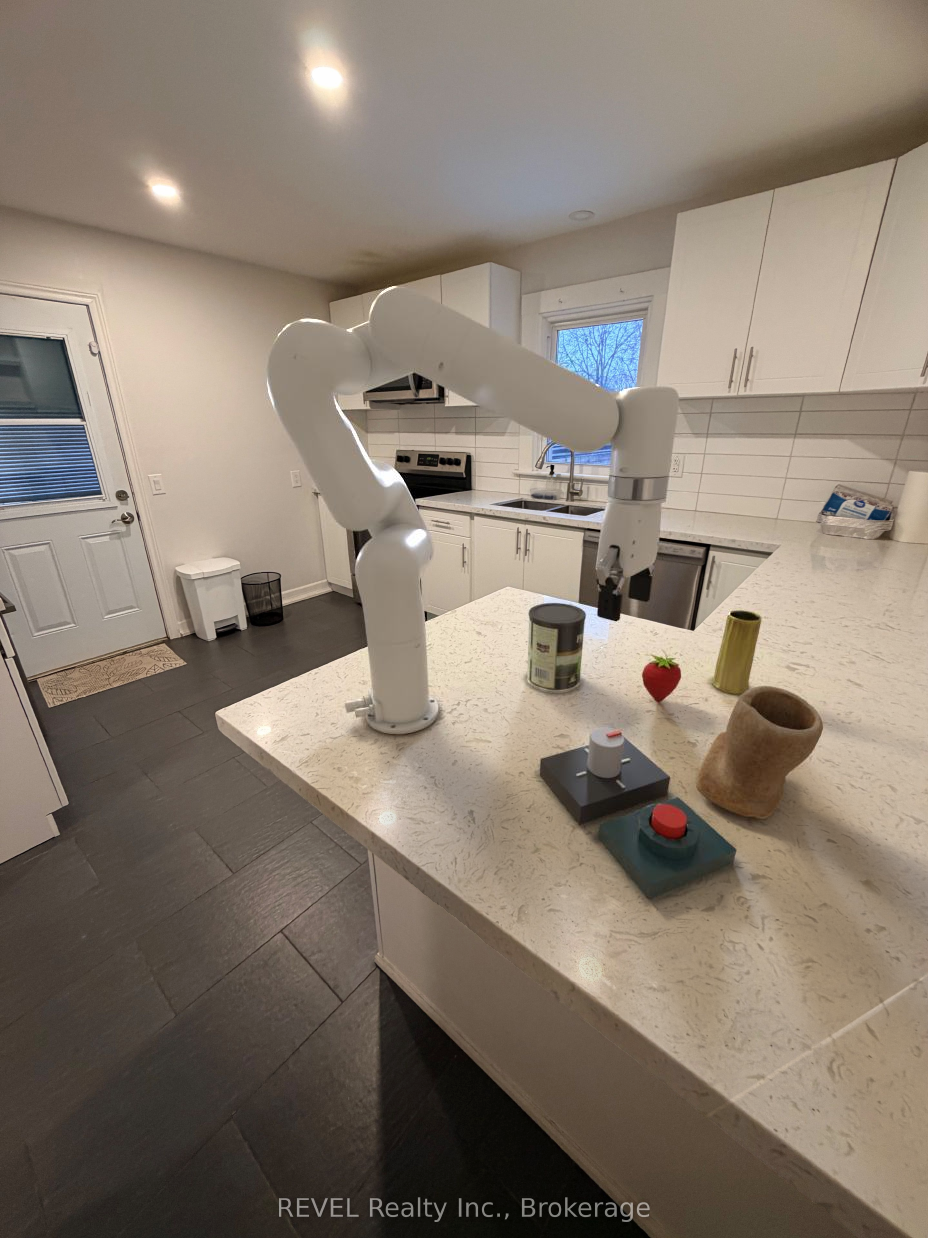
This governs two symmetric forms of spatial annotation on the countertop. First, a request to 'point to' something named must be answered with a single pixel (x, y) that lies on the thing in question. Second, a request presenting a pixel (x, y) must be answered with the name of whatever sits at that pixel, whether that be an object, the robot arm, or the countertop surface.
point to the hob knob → (605, 752)
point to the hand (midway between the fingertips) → (624, 608)
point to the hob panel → (602, 783)
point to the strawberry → (661, 677)
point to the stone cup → (758, 751)
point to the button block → (665, 849)
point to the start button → (668, 821)
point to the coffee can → (555, 647)
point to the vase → (737, 652)
